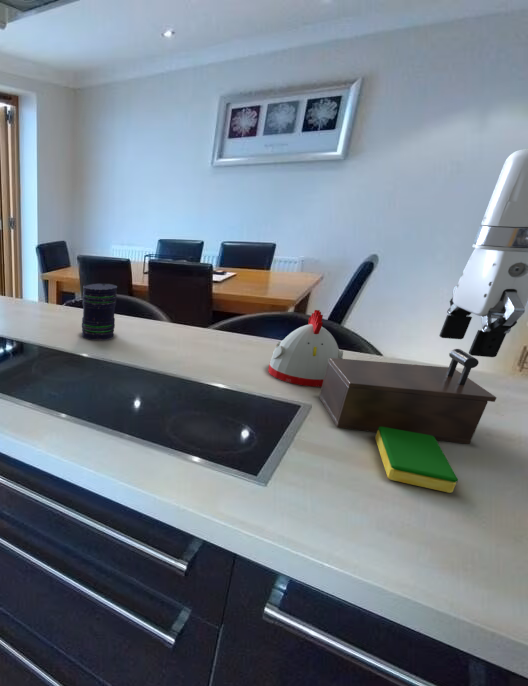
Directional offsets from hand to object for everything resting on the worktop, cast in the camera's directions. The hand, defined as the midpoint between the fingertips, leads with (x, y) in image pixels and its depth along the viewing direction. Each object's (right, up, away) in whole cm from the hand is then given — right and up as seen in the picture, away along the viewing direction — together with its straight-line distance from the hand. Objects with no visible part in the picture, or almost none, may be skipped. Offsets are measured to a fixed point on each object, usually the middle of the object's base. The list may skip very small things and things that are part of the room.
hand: (465, 346), depth 73 cm
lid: (-6, -5, +5) cm, 10 cm away
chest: (-6, -13, +8) cm, 16 cm away
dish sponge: (-14, -19, -5) cm, 24 cm away
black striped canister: (-50, +8, +61) cm, 79 cm away
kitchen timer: (-9, -4, +28) cm, 30 cm away
